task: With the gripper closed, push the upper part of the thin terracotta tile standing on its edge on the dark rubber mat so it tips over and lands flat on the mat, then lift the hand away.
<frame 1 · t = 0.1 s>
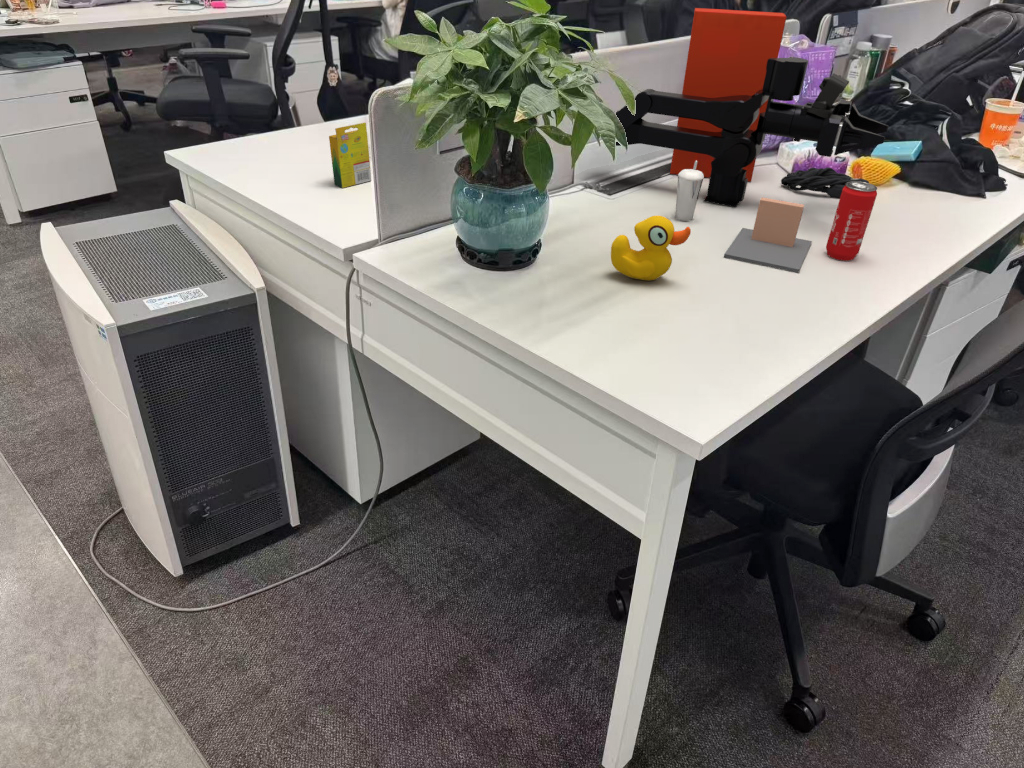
hand: (885, 134, 125), 17 cm above the table, tool horizontal, fingers open, 9 cm apart
beverage can: (840, 256, 122), on the table
milkshake: (684, 218, 135), on the table
cable: (819, 190, 153), on the table
duckling: (643, 279, 111), on the table
mat: (768, 250, 122), on the table
file binder: (709, 174, 159), on the table
tile: (772, 241, 124), point 1 cm above the table, touching mat
crayon box: (353, 184, 146), on the table
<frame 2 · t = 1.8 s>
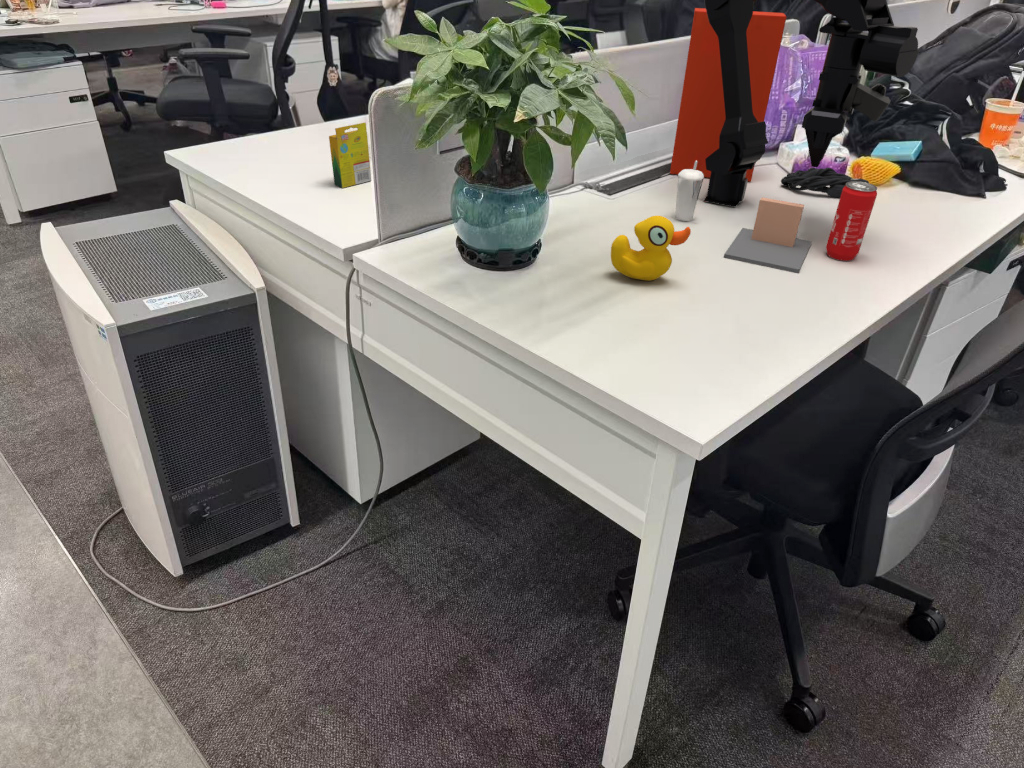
hand: (816, 162, 125), 12 cm above the table, tool pointing down, fingers open, 5 cm apart
nothing on the table moved.
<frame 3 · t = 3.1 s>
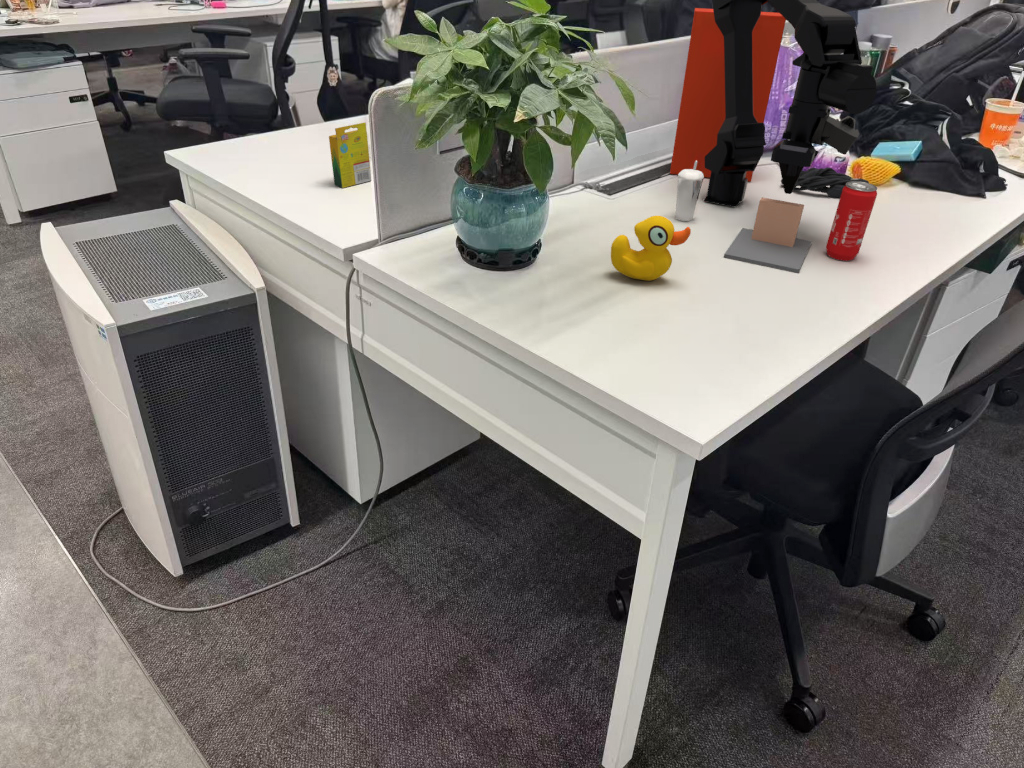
hand: (788, 193, 126), 7 cm above the table, tool pointing down, fingers closed
nothing on the table moved.
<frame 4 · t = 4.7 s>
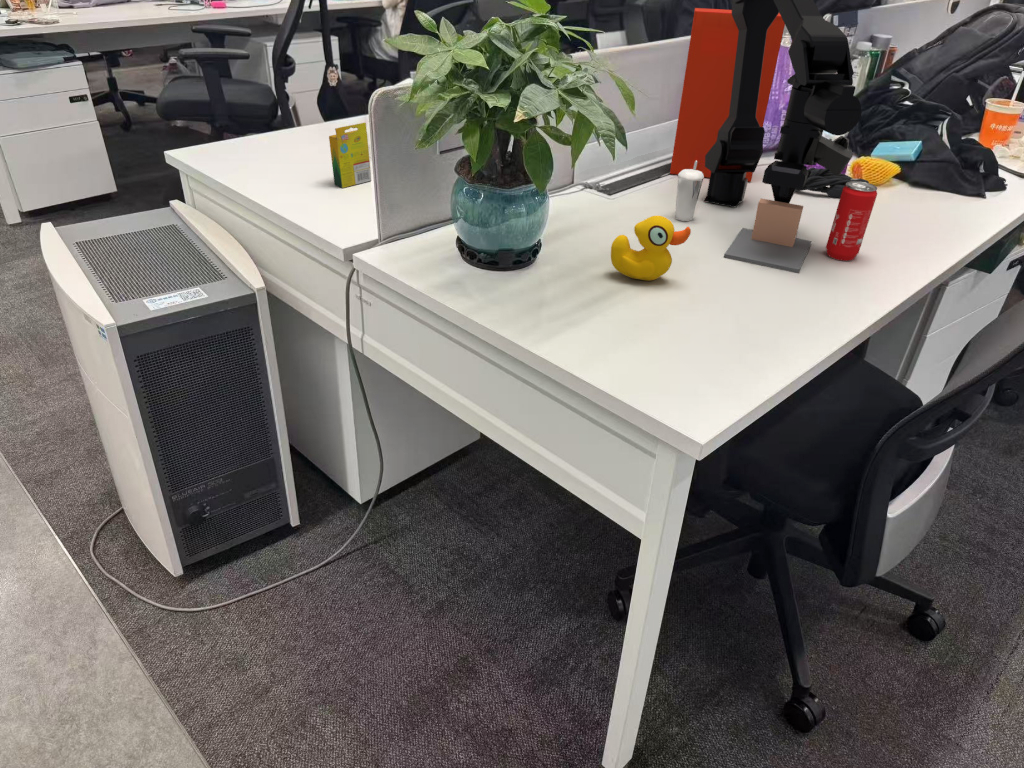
hand: (780, 214, 123), 5 cm above the table, tool pointing down, fingers closed
tile: (772, 240, 124), point 1 cm above the table, tilted 9°, touching mat
everything else where it was.
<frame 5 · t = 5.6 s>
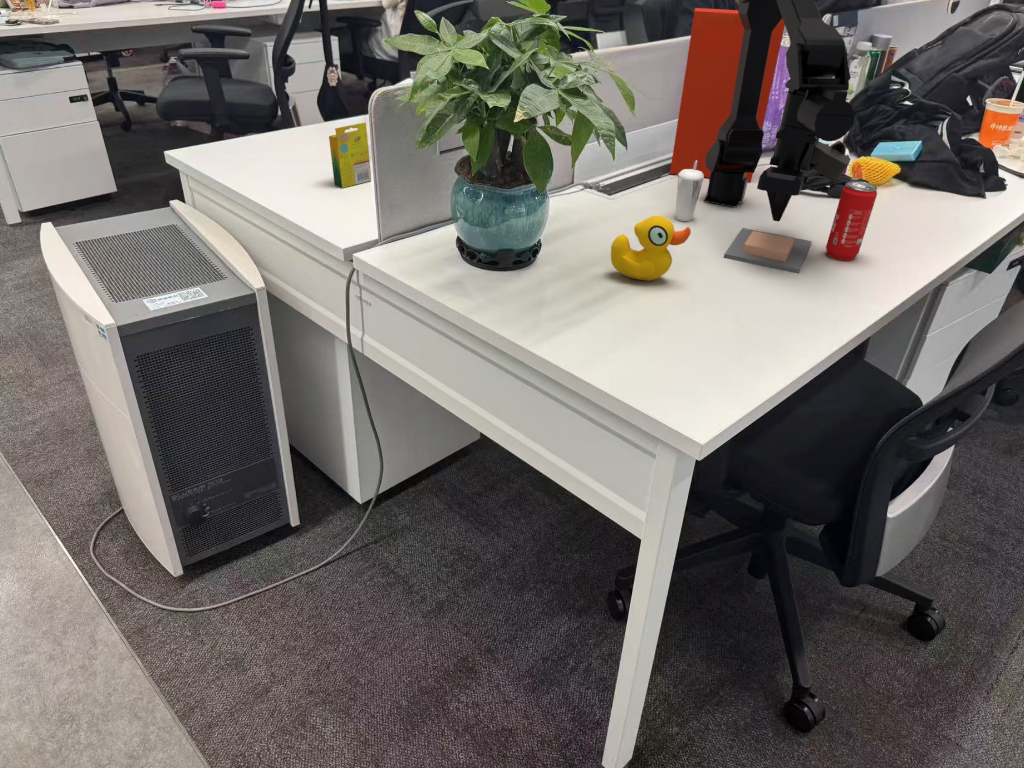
hand: (776, 220, 120), 5 cm above the table, tool pointing down, fingers closed
tile: (772, 239, 123), point 1 cm above the table, tilted 90°, touching mat
everything else where it was.
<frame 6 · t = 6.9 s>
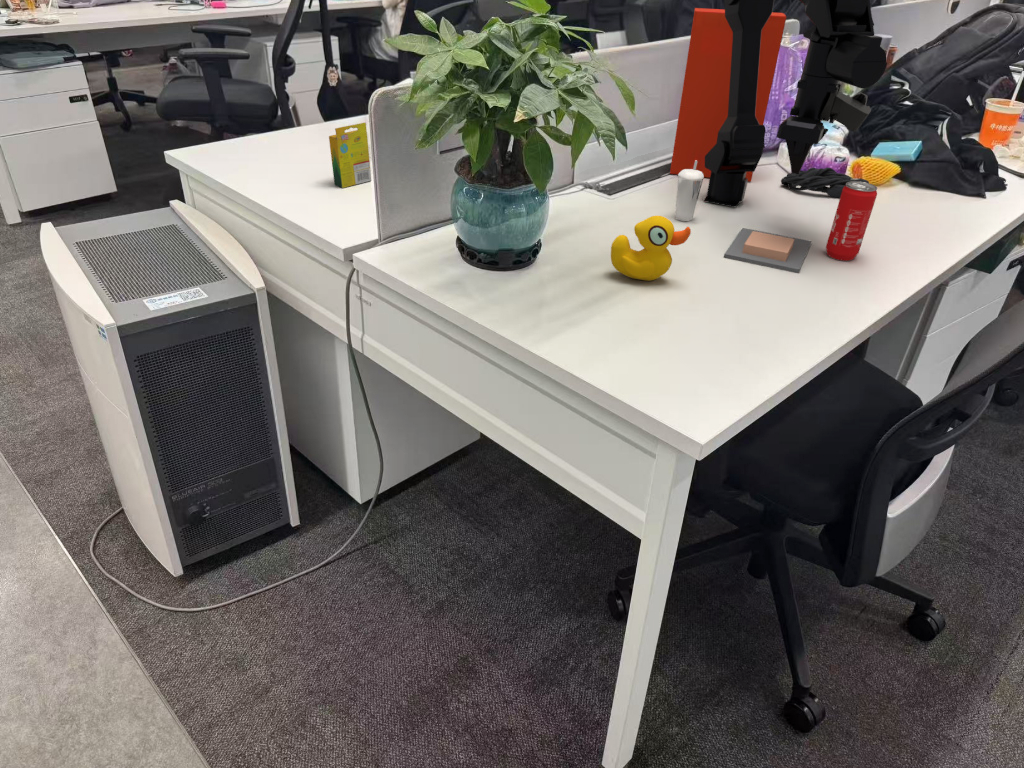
hand: (795, 172, 121), 12 cm above the table, tool pointing down, fingers closed
nothing on the table moved.
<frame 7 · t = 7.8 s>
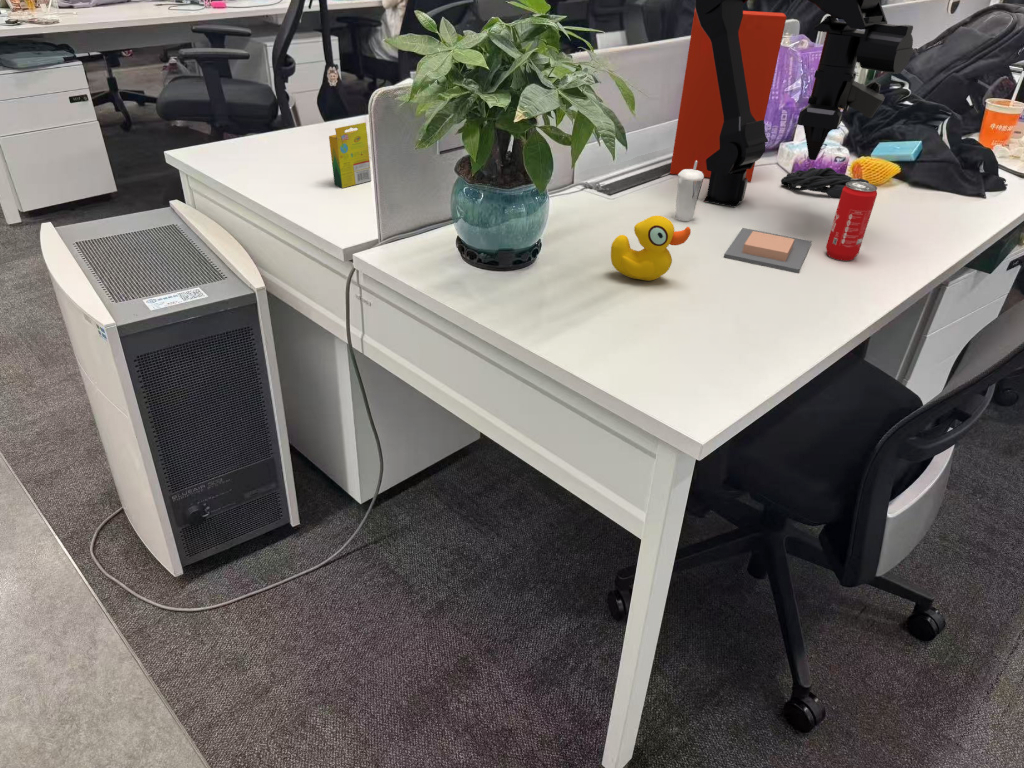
hand: (812, 159, 127), 12 cm above the table, tool pointing down, fingers closed
nothing on the table moved.
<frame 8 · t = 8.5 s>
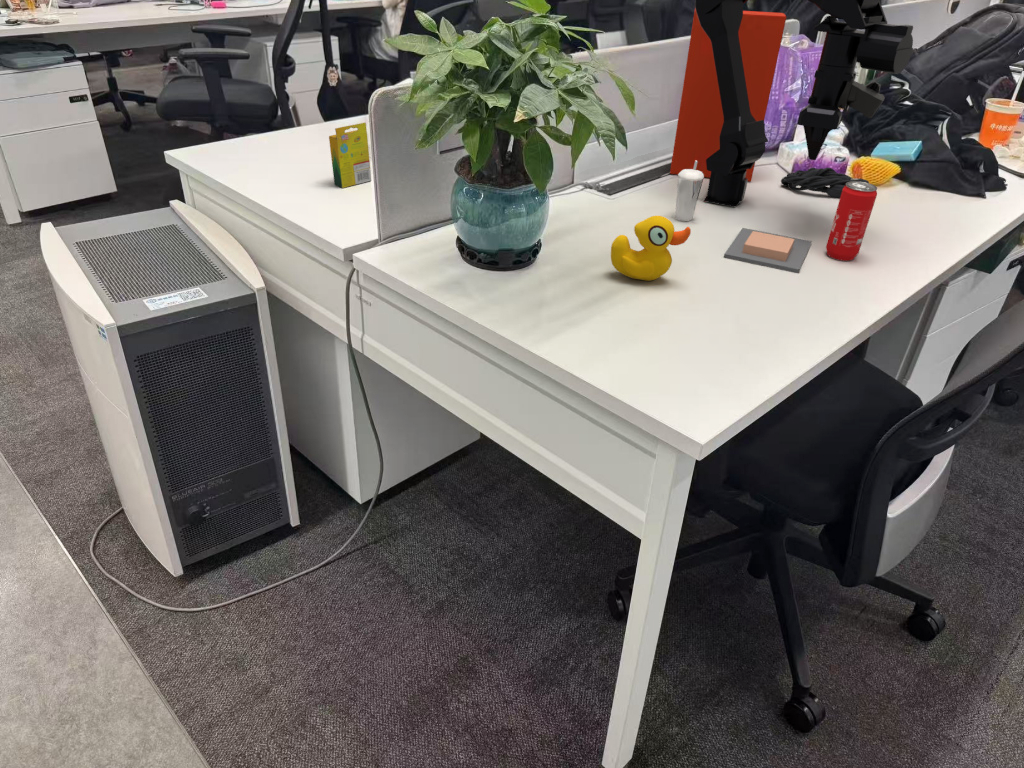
hand: (812, 159, 127), 12 cm above the table, tool pointing down, fingers closed
nothing on the table moved.
at the end: tile tilted 90°; tile inside the target area (2.1 cm from its centre), point 1.3 cm above the table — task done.
